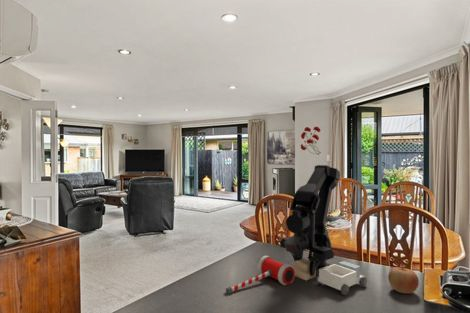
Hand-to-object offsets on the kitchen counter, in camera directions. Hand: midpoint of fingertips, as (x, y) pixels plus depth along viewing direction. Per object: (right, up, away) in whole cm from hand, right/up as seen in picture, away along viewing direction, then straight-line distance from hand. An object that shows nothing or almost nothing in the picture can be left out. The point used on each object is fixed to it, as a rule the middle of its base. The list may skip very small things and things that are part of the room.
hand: (305, 273), depth 103 cm
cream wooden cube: (0, -1, 0) cm, 1 cm away
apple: (+27, -2, -11) cm, 29 cm away
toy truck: (+10, -1, -7) cm, 12 cm away
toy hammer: (-15, -1, -6) cm, 16 cm away
